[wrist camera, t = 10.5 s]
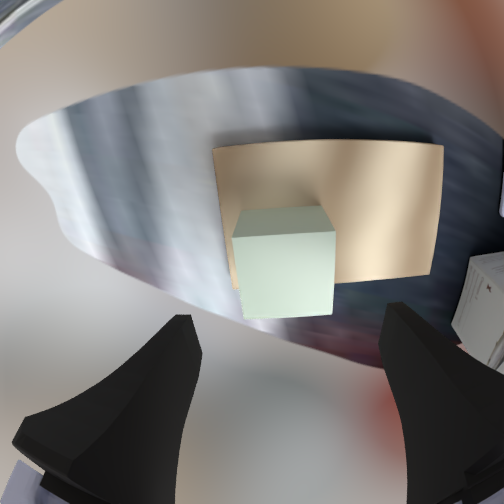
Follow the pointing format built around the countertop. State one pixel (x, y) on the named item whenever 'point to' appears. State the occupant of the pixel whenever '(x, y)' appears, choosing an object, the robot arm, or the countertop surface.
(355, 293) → the countertop surface
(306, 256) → the pale green block
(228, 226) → the board
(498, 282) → the supplement box
